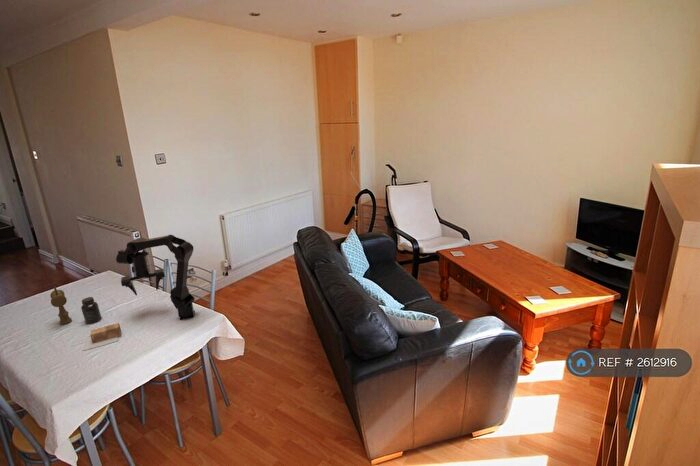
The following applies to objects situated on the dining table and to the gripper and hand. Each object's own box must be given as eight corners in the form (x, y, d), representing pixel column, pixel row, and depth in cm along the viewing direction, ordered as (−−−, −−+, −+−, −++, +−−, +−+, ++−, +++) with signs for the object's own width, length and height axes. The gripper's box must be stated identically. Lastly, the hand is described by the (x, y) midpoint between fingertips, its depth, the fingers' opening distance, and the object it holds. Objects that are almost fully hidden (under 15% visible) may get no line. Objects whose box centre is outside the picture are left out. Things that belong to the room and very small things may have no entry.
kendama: (59, 328, 177) (47, 291, 170) (57, 320, 184) (45, 284, 177) (74, 323, 181) (62, 287, 174) (72, 316, 187) (61, 281, 181)
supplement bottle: (105, 316, 186) (99, 295, 182) (94, 324, 179) (88, 302, 176) (92, 316, 187) (86, 295, 183) (82, 324, 180) (75, 302, 176)
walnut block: (119, 322, 171) (90, 330, 166) (118, 327, 167) (89, 335, 162) (121, 331, 172) (93, 338, 167) (121, 335, 169) (92, 343, 164)
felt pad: (118, 328, 175) (118, 328, 175) (118, 341, 165) (117, 340, 165) (85, 337, 169) (85, 336, 169) (83, 351, 159) (83, 350, 159)
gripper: (160, 254, 190) (165, 282, 195) (118, 263, 181) (125, 291, 186) (161, 261, 181) (167, 290, 186) (117, 270, 172) (125, 300, 177)
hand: (146, 292), depth 184 cm, fingers open, 9 cm apart
